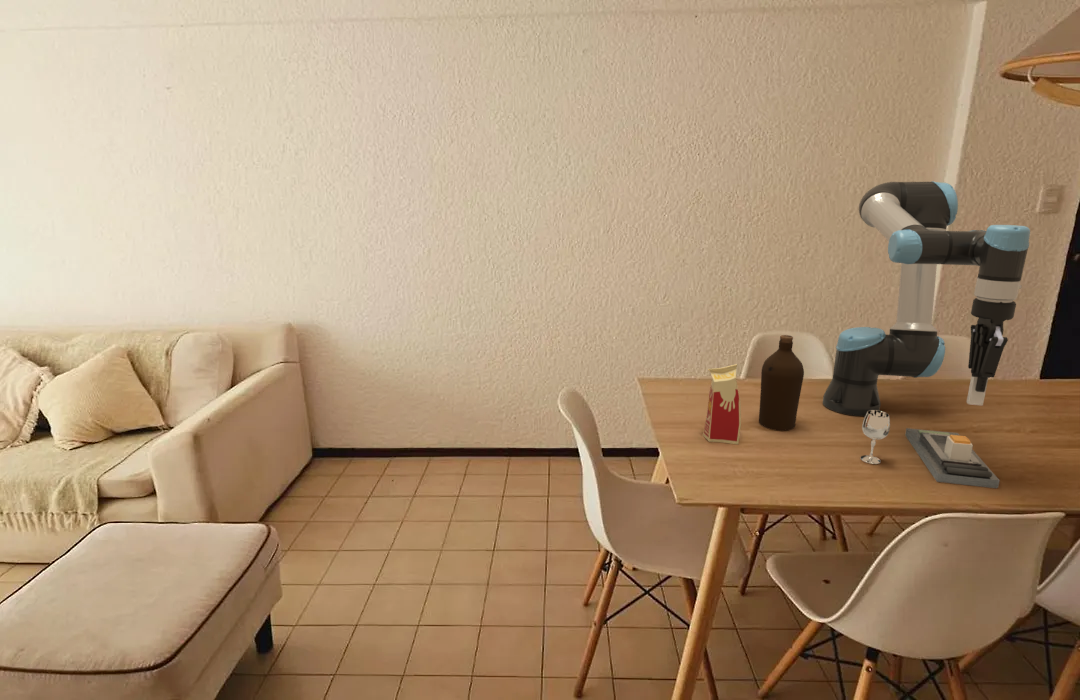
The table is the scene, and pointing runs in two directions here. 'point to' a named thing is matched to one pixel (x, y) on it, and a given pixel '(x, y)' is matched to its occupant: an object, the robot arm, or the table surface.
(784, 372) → the olive oil
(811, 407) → the table surface
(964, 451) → the toggle
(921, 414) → the table surface
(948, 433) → the panel
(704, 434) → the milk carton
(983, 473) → the twin grey rollers
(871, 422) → the wineglass
